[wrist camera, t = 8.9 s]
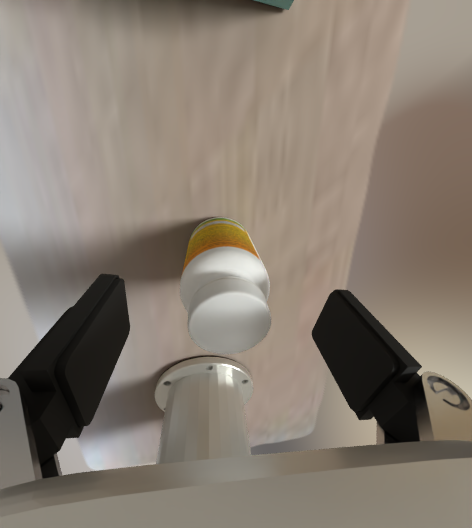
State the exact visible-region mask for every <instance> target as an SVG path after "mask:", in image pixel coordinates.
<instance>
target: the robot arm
mask: <svg viewBox="0 0 472 528" xmlns="http://www.w3.org/2000/svg"><path fill="white" fill-rule="evenodd" d="M129 331H130V322H129V315H128V307H127V300H126V292H125V285H124V280H123V279H120V278H119V276H118V275H110V274H101V275H100V276H99V277H98V278H97V279H96V280H95V281H94V283H93V284H92V285H91V286H90V287H89V289H88V290H87V291H86V292H85V293H84V295H83V296H82V297H81V298H80V299H79V300H78V302H77V303H76V304H75V305H74V306H73V307H70V308H69V309H68V310H67V311H66V312H65V313H64V314H63V315H62V316H61V317H60V319H59V320H58V321H57V322H56V323H55V324H54V326H53V327H52V328H51V329H50V330H49V331H48V333H47V334H46V335H45V336H44V337H43V338H42V339H41V341H40V342H39V343H38V344H37V345H36V347H35V348H34V349H33V350H32V351H31V352H30V353H29V354H28V356H27V357H26V358H25V359H24V360H23V361H22V363H21V364H20V365H19V366H18V367H17V368H16V370H15V371H14V372H13V373H12V374H11V375H10V377H9V378H8V379H5V378H0V528H472V400H471V399H470V397H469V396H468V395H467V394H466V393H465V392H464V391H463V390H462V389H461V388H460V387H459V386H457V385H456V384H455V383H453V382H452V381H450V380H449V379H447V378H445V377H444V376H441V375H439V374H437V373H433V372H424V373H423V374H422V375H421V376H419V375H418V374H417V371H418V370H419V369H420V368H421V367H422V366H421V365H420V364H419V363H418V362H417V361H416V360H415V359H414V358H413V357H412V356H411V355H410V354H409V353H408V352H407V350H405V348H404V347H403V346H402V345H401V344H400V343H399V342H398V341H397V340H396V339H395V338H394V337H393V336H392V335H391V334H390V333H389V332H388V331H387V330H386V329H385V328H384V326H383V325H382V324H381V323H380V322H379V321H378V320H376V318H375V317H374V316H373V315H372V314H371V313H370V312H369V311H368V310H367V309H366V308H365V307H364V306H363V305H362V304H361V303H360V302H359V301H358V299H357V298H356V297H355V296H354V295H353V294H352V293H351V292H350V291H348V290H334V291H333V292H332V293H330V295H329V297H328V299H327V301H326V303H325V305H324V307H323V310H322V312H321V314H320V316H319V318H318V320H317V322H316V324H315V326H314V328H313V330H312V337H313V340H314V341H315V343H316V345H317V347H318V349H319V351H320V353H321V354H322V356H323V358H324V360H325V362H326V364H327V366H328V368H329V369H330V371H331V373H332V375H333V377H334V379H335V381H336V382H337V384H338V386H339V388H340V390H341V392H342V394H343V396H344V397H345V399H346V401H347V403H348V405H349V407H350V408H351V409H352V410H353V411H354V412H355V413H356V415H357V417H358V419H359V420H368V419H371V418H372V417H375V419H376V421H377V444H376V445H366V446H354V447H342V448H331V449H319V450H307V451H298V452H285V453H274V454H263V455H251V451H250V444H249V437H248V430H247V423H246V416H245V408H244V405H245V404H246V403H247V402H248V400H249V399H250V397H251V395H252V393H253V382H252V378H251V375H250V373H249V372H248V370H247V369H246V368H245V367H244V366H242V365H241V364H239V363H237V362H235V361H232V360H229V359H226V358H220V357H199V358H194V359H189V360H186V361H183V362H181V363H178V364H176V365H174V366H173V367H171V368H169V369H168V370H167V371H166V372H164V373H163V375H162V376H161V377H160V378H159V380H158V382H157V385H156V390H155V401H156V403H157V405H158V406H159V408H160V409H161V410H162V411H164V412H165V414H164V419H163V425H162V431H161V437H160V443H159V449H158V455H157V460H156V464H155V465H144V466H136V467H126V468H118V469H109V470H100V471H91V472H82V473H75V474H69V475H63V476H62V472H61V468H60V464H59V460H58V456H57V452H58V451H60V449H61V447H62V445H63V443H64V441H65V439H66V438H79V436H80V434H81V432H82V430H83V427H84V426H88V425H89V424H90V423H91V421H92V419H93V417H94V415H95V412H96V410H97V408H98V405H99V403H100V401H101V398H102V396H103V394H104V391H105V389H106V386H107V384H108V382H109V379H110V377H111V375H112V372H113V370H114V368H115V365H116V363H117V361H118V358H119V356H120V354H121V351H122V349H123V347H124V344H125V342H126V340H127V337H128V335H129Z"/></svg>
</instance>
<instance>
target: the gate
mask: <svg viewBox="0 0 472 528" xmlns="http://www.w3.org/2000/svg"><path fill="white" fill-rule="evenodd" d="M254 1H258V2H261V3H265V4H269V5H272V6H276V7H280V8H283V9H287V10H289V8H290V6H291V4H292V3H293V1H294V0H254Z"/></svg>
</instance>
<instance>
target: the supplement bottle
mask: <svg viewBox="0 0 472 528" xmlns="http://www.w3.org/2000/svg"><path fill="white" fill-rule="evenodd" d="M269 292H270V282H269V277H268V274H267V271H266V269H265V267H264V265H263V263H262V261H261V259H260V257H259V255H258V253H257V251H256V249H255V246H254V244H253V242H252V240H251V238H250V236H249V234H248V233H247V231H246V230H245V228H244V227H243V226H242V225H241V224H239V223H238V222H236V221H234V220H232V219H230V218H225V217H215V218H211V219H208V220H206V221H204V222H202V223H201V224H199V225H198V226H197V227H196V228H195V230H194V231H193V233H192V235H191V237H190V240H189V244H188V249H187V254H186V258H185V263H184V267H183V272H182V276H181V282H180V297H181V301H182V303H183V305H184V307H185V309H186V311H187V312H188V332H189V335H190V337H191V339H192V340H193V341H194V342H195V343H196V344H197V345H198V346H199V347H201V348H202V349H204V350H206V351H209V352H212V353H217V354H235V353H240V352H243V351H246V350H248V349H250V348H252V347H254V346H255V345H257V344H258V343H259V342H261V341H262V339H263V338H264V337H265V336H266V335H267V333H268V331H269V329H270V326H271V314H270V310H269V307H268V305H267V300H268V297H269Z"/></svg>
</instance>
